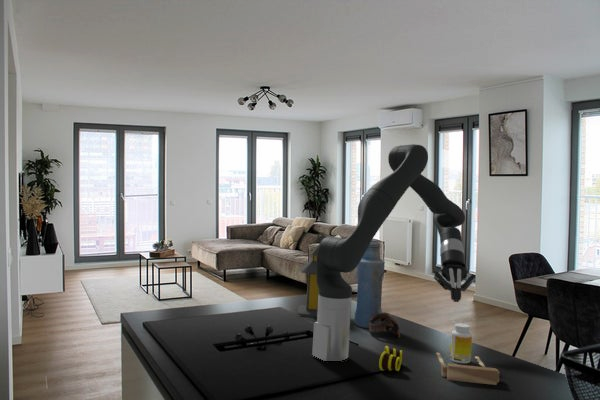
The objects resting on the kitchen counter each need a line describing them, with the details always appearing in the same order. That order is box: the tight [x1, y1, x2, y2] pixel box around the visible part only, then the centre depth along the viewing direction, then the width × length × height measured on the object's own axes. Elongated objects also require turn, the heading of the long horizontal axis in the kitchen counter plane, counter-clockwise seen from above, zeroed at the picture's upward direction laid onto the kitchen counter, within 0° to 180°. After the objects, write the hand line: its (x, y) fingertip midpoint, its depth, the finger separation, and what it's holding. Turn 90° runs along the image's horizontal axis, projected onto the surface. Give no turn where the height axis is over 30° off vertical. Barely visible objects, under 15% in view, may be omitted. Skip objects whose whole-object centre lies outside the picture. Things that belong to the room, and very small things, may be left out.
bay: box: [435, 352, 501, 386], centre depth 139 cm, size 22×14×4 cm, turn 172°
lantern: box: [297, 232, 325, 318], centre depth 193 cm, size 14×14×30 cm
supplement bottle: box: [449, 322, 473, 365], centre depth 145 cm, size 6×6×10 cm
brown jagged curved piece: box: [368, 312, 401, 339], centre depth 168 cm, size 12×10×8 cm
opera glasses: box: [378, 345, 403, 372], centre depth 136 cm, size 10×5×5 cm, turn 163°
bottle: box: [354, 239, 386, 329], centre depth 178 cm, size 10×10×30 cm
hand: (456, 300), depth 156 cm, fingers closed
